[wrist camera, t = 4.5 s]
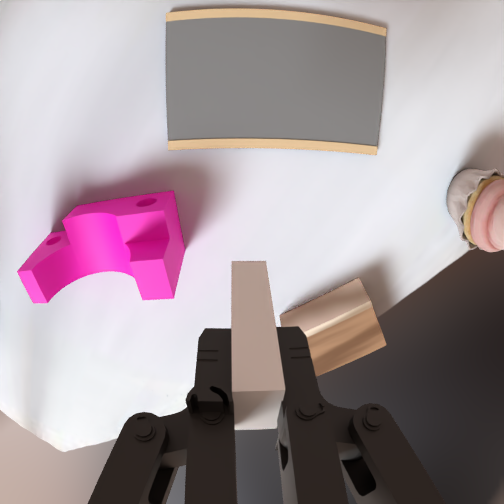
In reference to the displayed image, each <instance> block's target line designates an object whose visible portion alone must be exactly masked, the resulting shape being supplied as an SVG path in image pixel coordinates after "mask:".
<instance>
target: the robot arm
mask: <svg viewBox="0 0 504 504" xmlns="http://www.w3.org/2000/svg"><path fill="white" fill-rule="evenodd" d="M186 404H187V408H185V409H184V410H182V411H181V412H178V413H175V414H171V415H167V416H162V417H158V416H156V415H154V414H152V413H147V412H142V413H137V414H134V415H133V416H131V417H129V419H128V420H127V421H126V423H125V424H124V426H123V428H122V430H121V432H120V434H119V437H118V439H117V441H116V443H115V445H114V447H113V449H112V451H111V454H110V456H109V458H108V460H107V462H106V464H105V467H104V469H103V471H102V473H101V475H100V477H99V480H98V482H97V484H96V486H95V489H94V491H93V493H92V495H91V498H90V500H89V502H88V504H166V501H167V499H168V496H169V493H170V490H171V487H172V485H173V482H174V479H175V476H176V473H177V470H178V468H179V466H183V465H186V482H185V484H186V485H185V504H238V503H237V481H236V453H235V430H250V429H273V428H277V425H278V434H279V436H278V440H277V443H276V449H275V450H278V454H279V463H280V473H281V482H282V492H283V502H284V504H348V499H347V493H346V488H345V483H344V479H345V481H346V483H347V485H348V487H349V489H350V490H351V493H352V494H353V496H354V498H355V500H356V502H357V504H446V503H445V502H444V500H443V498H442V497H441V495H440V493H439V492H438V490H437V488H436V487H435V485H434V483H433V482H432V480H431V478H430V477H429V475H428V474H427V472H426V470H425V469H424V467H423V465H422V464H421V462H420V460H419V459H418V457H417V456H416V454H415V453H414V451H413V449H412V448H411V446H410V444H409V443H408V441H407V440H406V438H405V436H404V435H403V433H402V432H401V430H400V428H399V427H398V425H397V424H396V422H395V421H394V419H393V418H392V416H391V414H390V413H389V412H388V411H387V410H386V409H385V408H384V407H382V406H380V405H378V404H372V403H370V404H365V405H363V406H361V407H360V408H358V409H357V410H354V409H347V408H341V407H337V406H333V405H332V404H330V403H328V402H327V401H326V400H325V399H324V398H323V397H322V395H321V394H320V391H319V388H318V383H317V379H316V374H315V370H314V366H313V362H312V358H311V353H310V349H309V345H308V341H307V336H306V335H305V334H304V332H303V331H302V330H301V329H300V327H299V326H292V327H276V323H275V317H274V310H273V304H272V297H271V291H270V285H269V278H268V272H267V266H266V261H232V291H231V329H217V328H205V330H204V331H203V333H202V334H201V336H200V337H199V341H198V352H197V362H196V373H195V385H194V387H193V388H192V389H191V390H190V392H189V393H188V395H187V398H186ZM343 477H344V478H343Z"/></svg>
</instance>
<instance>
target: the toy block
mask: <svg viewBox="0 0 504 504" xmlns="http://www.w3.org/2000/svg"><path fill="white" fill-rule="evenodd" d="M62 222H63V225H64V228H65V230H66V231H59V232H53V233H50V234H49V235H48V236H47V238H46V239H45V240H44V241H43V242H42V243H41V244H40V245H39V246H38V248H37V249H36V250H35V251H34V252H33V253H32V254H31V256H30V257H29V258H28V259H27V260H26V261H25V263H24V264H23V265H22V266H21V268H20V269H19V270H18V271H17V272H18V274H19V276H20V279H21V281H22V283H23V285H24V286H25V288H26V290H27V292H28V294H29V296H30V298H31V300H32V302H33V303H48V302H49V301H50V299H51V298H52V297H53V296H54V295H55V294H56V293H57V292H59V291H60V290H61V289H62V288H64V287H65V286H67V285H68V284H70V283H71V282H73V281H75V280H77V279H79V278H82V277H84V276H87V275H90V274H94V273H99V272H107V271H115V272H122V273H126V274H129V275H131V276H133V277H134V278H135V280H136V283H137V286H138V289H139V291H140V294H141V297H142V300H156V299H174V295H175V291H176V286H177V282H178V278H179V274H180V270H181V265H182V261H183V257H184V253H185V246H184V241H183V236H182V231H181V226H180V221H179V216H178V211H177V206H176V200H175V195H174V191H167V192H160V193H152V194H145V195H138V196H132V197H125V198H119V199H112V200H106V201H100V202H94V203H89V204H83V205H78V206H76V207H75V208H74V209H73V210H72V211H71V212H70V213H69V214H68V215H67V216H66V217H65V218H64V219H63V220H62Z"/></svg>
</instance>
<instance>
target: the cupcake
mask: <svg viewBox="0 0 504 504" xmlns="http://www.w3.org/2000/svg"><path fill="white" fill-rule="evenodd" d="M447 207H448V211H449V213H450V215H451V217H452V218H453V220H454V221H455V223H456V224H457V226H458V230H459V234H460V238H461V239H462V240H463V241H466V242H467V245H468V248H469V250H473V249H475V248H477V247H479V249H480V250H486V251H488V252H495V251H500V250H504V173H500V172H499V171H498V170H497V169H492V170H488V171H483V170H478V169H466V170H463V171H461V172H460V173H458V174H457V175H456V176H455V177H454V179H453V180H452V182H451V184H450V186H449V189H448V192H447Z"/></svg>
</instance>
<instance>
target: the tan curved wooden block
mask: <svg viewBox="0 0 504 504" xmlns="http://www.w3.org/2000/svg"><path fill="white" fill-rule="evenodd" d="M279 316H280V321H281V327H292V326H299V327H300V329H301V330H302V331H303V332H304V334H305V335H306V336H307V341H308V345H309V349H310V353H311V358H312V362H313V366H314V370H315V374H316V376H318V375H321V374H323V373H326V372H328V371H331V370H333V369H335V368H338V367H340V366H342V365H344V364H347V363H349V362H351V361H354V360H356V359H358V358H360V357H362V356H365V355H367V354H369V353H371V352H373V351H375V350H377V349H379V348H381V347H383V346H385V345H386V342H385V339H384V337H383V334H382V331H381V328H380V325H379V323H378V320H377V317H376V315H375V312H374V309H373V305H372V303H371V300H370V298H369V296H368V294H367V292H366V290H365V289H364V287H363V285H362V283H361V281H360V279H359V278H357V279H355V280H353V281H351V282H349V283H347V284H345V285H343V286H341V287H339V288H337V289H335V290H333V291H331V292H329V293H326V294H324V295H322V296H320V297H318V298H316V299H314V300H312V301H310V302H308V303H306V304H303V305H301V306H299V307H297V308H295V309H293V310H290V311H288V312H286V313H284V314H282V315H279Z"/></svg>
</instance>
